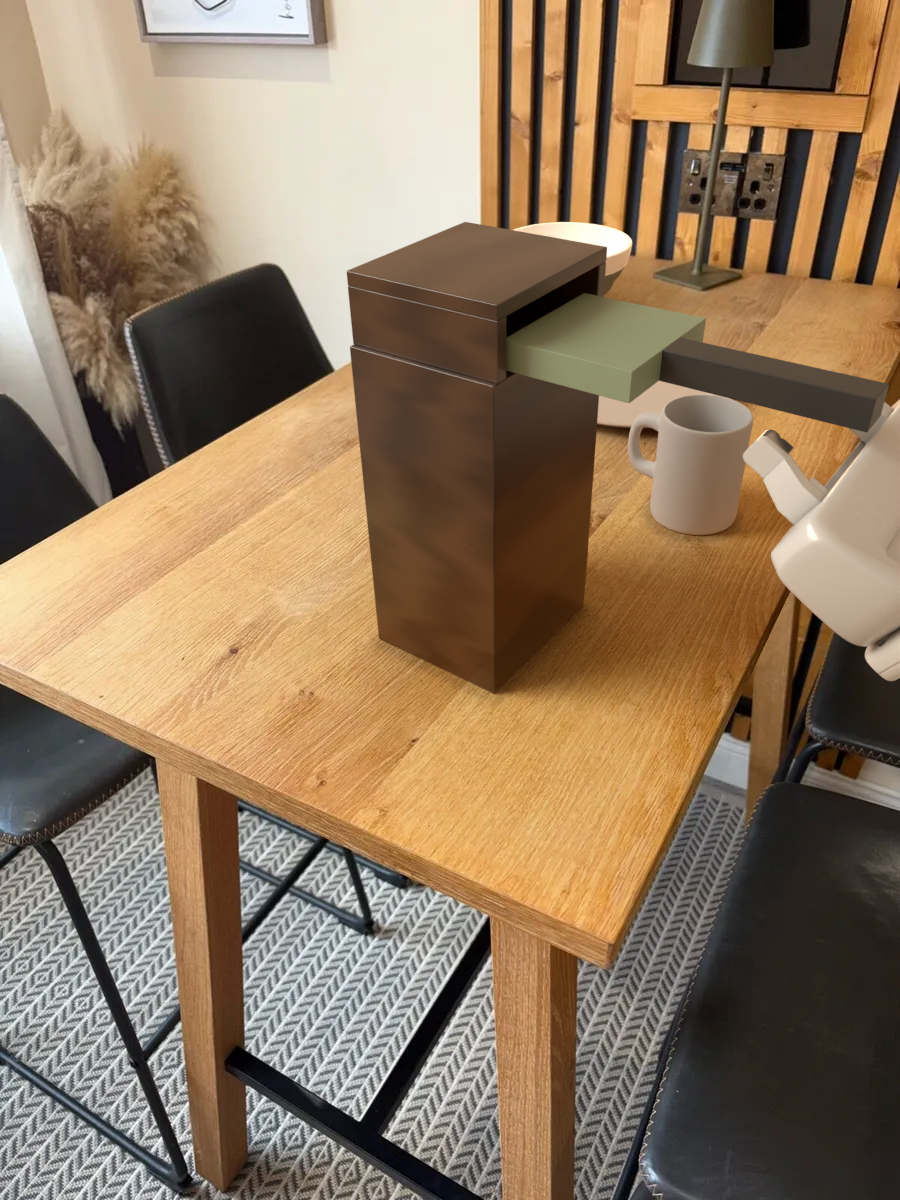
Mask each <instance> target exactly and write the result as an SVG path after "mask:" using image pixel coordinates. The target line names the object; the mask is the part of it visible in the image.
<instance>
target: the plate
mask: <svg viewBox="0 0 900 1200" xmlns="http://www.w3.org/2000/svg"><path fill="white" fill-rule="evenodd" d="M687 395H714V394H710V393H706V392H702V391H698V390H694V389H690V388H686V387H682V386H678V385H674V384H670V383H666V382H662V381H660V380H659V381H658V382H657V383H655V384H654V385H653V386H651V387H650V388H649V389H647V390H646V391H645V392H644V393H642V394H641V395H640V396H638V397H637V398H636V399H634V400H633V401H632V402H631V403H625V402H622V401H618V400H614V399H610V398H607V397H603V396H599V405H598V418H597V426H603V427H608V428H616V429H631V426H632V424H633V422H634V420H635V419H636V417H637V416H638V415H640V414H642V413H644V412H656V413H661V412H662V409H663V407H664V406H665V405H666V404H667V403H668V402H669V401H671V400H673V399H676V398H678V397H682V396H687ZM715 396H718V395H715ZM721 397H722V396H721ZM725 398H726V397H725ZM729 399H730V398H729ZM643 429H651V428H650V427H644V428H643Z"/></svg>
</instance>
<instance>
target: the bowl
mask: <svg viewBox="0 0 900 1200" xmlns="http://www.w3.org/2000/svg"><path fill="white" fill-rule="evenodd" d="M513 230H514V231H520V232H526V233H531V234H537V235H543V236H548V237H554V238H560V239H565V240H571V241H576V242H582V243H588V244H593V245H599V246H605V247H607V257H606V270H605V285H604V296H606V295H607V293H609V292H610V290H611V289H613V288H612V287H613V286H614V283H615V282H616V280H617V279H618V278H619V277H620V276H621V274H622V272H623V271H624V270H625V267H626V266H627V265H628V262H629V259H630V256H631V253H632V248H633V239H632V238H631V237H630V236H629V235H628V234H627V233H625V232H624V231H622V230H619V229H617V228H614V227H612V226H611V227H610V226H606V225H601V224H596V223H589V222H577V221H575V222H574V221H555V222H543V223H534V224H529V225H525V226H521V227H516V228H514V229H513Z"/></svg>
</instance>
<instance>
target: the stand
mask: <svg viewBox="0 0 900 1200" xmlns="http://www.w3.org/2000/svg"><path fill="white" fill-rule="evenodd" d="M606 257H607V247H605V246H599V245H593V244H588V243H582V242H576V241H571V240H565V239H560V238H554V237H548V236H543V235H537V234H531V233H526V232H520V231H514V229H510V228H509V229H508V228H503V227H497V226H492V225H485V224H479V223H474V222H469V221H463V222H461V223H459V224H456V225H453V226H452V227H449V228H447V229H444V230H442V231H440V232H437V233H435V234H433V235H430V236H428V237H425V238H422V239H420V240H417V241H416V242H413V243H411V244H407V245H406V246H403V247H401V248H398V249H396V250H393V251H391V252H388V253H386V254H384V255H381V256H379V257H377V258H374V259H372V260H369V261H366V262H364V263H362V264H360V265H357V266H355V267H352V268H350V269H348V270H346V281H347V292H348V302H349V303H348V304H349V312H350V324H351V334H352V343H353V344H352V345H350V346H349V353H350V363H351V371H352V383H353V393H354V403H355V413H356V423H357V432H358V433H357V434H358V442H359V453H360V462H361V472H362V473H361V475H362V483H363V492H364V502H365V503H364V504H365V513H366V523H367V532H368V533H367V534H368V540H369V541H368V543H369V544H368V545H369V553H370V562H371V573H372V582H373V583H372V585H373V592H374V593H373V594H374V603H375V604H374V605H375V612H376V613H375V615H376V623H377V633H378V639H379V640H381V641H383V642H386V643H388V644H389V645H391V646H394V647H396V648H397V649H400V650H402V651H404V652H406V653H408V654H410V655H413V656H415V657H416V658H418V659H421V660H422V661H424V662H427V663H429V664H430V665H433V666H434V667H437V668H439V669H441V670H444V671H446V672H448V673H450V674H452V675H454V676H456V677H458V678H461V679H462V680H464V681H466V682H469V683H471V684H473V685H475V686H477V687H480V688H481V689H483V690H485V691H488V692H490V693H492V694H496V693H497V692H498V691H499V690H500V689H501V688H502V687H503V686H504V685H505V684H506V683H507V682H508V681H509V680H510V679H511V678H512V677H513V676H514V675H515V674H516V673H517V672H518V671H519V670H520V669H521V668H522V667H523V666H524V665H525V664H526V663H527V662H528V661H529V660H530V659H531V658H532V657H533V656H534V655H535V654H536V653H537V652H538V651H539V650H540V649H541V648H542V647H543V646H544V645H545V644H546V643H547V642H548V641H549V640H550V639H551V638H553V636H554V635H556V633H557V632H558V631H559V630H561V628H562V627H563V626H564V625H565V624H567V623H568V622H569V620H570V619H572V617H573V616H575V614H577V613H578V612H579V610H581V609H582V607H584V606H585V597H586V596H585V595H586V583H587V582H586V581H587V570H588V569H587V568H588V557H589V556H588V555H589V554H588V553H589V552H588V551H589V540H590V529H591V528H590V527H591V526H590V525H591V513H592V500H593V499H592V498H593V486H594V485H593V484H594V471H595V458H596V445H597V444H596V443H597V431H598V430H597V429H598V425H597V418H598V405H599V395H595V394H592V393H588V392H584V391H580V390H577V389H573V388H569V387H566V386H562V385H558V384H554V383H551V382H547V381H543V380H539V379H536V378H532V377H528V376H524V375H521V374H517V373H513V372H510V371H506V338H507V337H509V336H510V335H512V334H514V333H516V332H517V331H519V330H521V329H522V328H524V327H526V326H528V325H529V324H531V323H533V322H535V321H536V320H538V319H540V318H542V317H543V316H545V315H547V314H549V313H550V312H552V311H554V310H556V309H557V308H559V307H561V306H563V305H564V304H566V303H568V302H569V301H571V300H573V299H575V298H576V297H578V296H580V295H582V294H583V293H587V294H592V295H596V296H601V297H605V295H604V285H605V270H606Z"/></svg>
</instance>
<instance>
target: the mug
mask: <svg viewBox="0 0 900 1200" xmlns="http://www.w3.org/2000/svg"><path fill="white" fill-rule="evenodd" d="M753 425H754V415H753V412H752V411H751V410H750V409H749V408H748V406H746V405H744V403H741V402H740V401H738V400H734V399H729V398H725V397H721V396H715V395H687V396H682V397H678V398H676V399H673V400H671V401H669V402H668V403H667V404H666V405H665V406H664V407H663V409H662V412H661V413H656V412H644V413H642V414H640V415H638V416H637V417H636V419H635V420H634V422H633V424H632V426H631V429H630V430H629V433H628V439H627V454H628V460H629V463H630V465H631V466H632V468H633V469H634V470H635V471H636V472H638V473H639V474H641V475H643V476H646V477H648V478H649V479H650V478H651V479H652V485H651V493H650V501H649V511H650V514H651V517H652V518H653V519H654V520H655V521H656V523H658V524H659V525H660V526H662V527H663V528H666V529H668V530H670V531H673V532H676V533H679V534H684V535H692V536H707V535H714V534H717V533H721V532H723V531H726V530H727V529H729V528H730V527H731V526H732V525H733V524H734V522H735V520H736V518H737V515H738V510H739V505H740V504H739V503H740V498H741V497H740V496H741V492H742V485H743V481H744V479H743V478H744V474H745V468H746V464H747V463H746V462H745V461H744V459H743V454H744V452H745V451H746V450H747V449H748V448H749V447H750V440H751V437H752V430H753ZM644 427H650V428H649V429H653V430H655V431H657V432H658V433H657V443H656V444H657V445H656V452H655V453H656V454H655V461H653V460H648V459H647V458H645V457H644V456H643V454H642V452H641V447H640V445H641V444H640V439H641V433H642V431H643V429H645V428H644Z"/></svg>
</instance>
